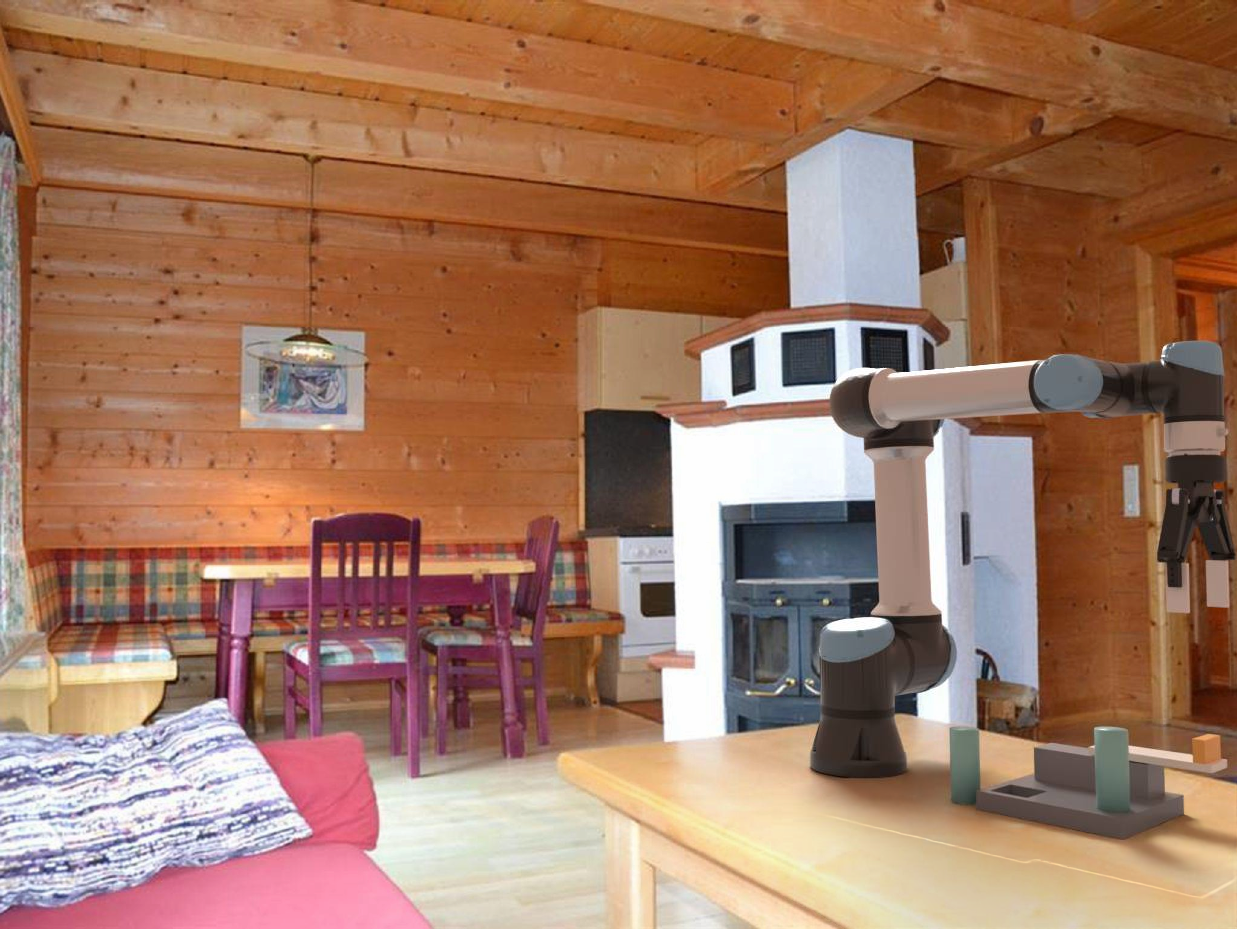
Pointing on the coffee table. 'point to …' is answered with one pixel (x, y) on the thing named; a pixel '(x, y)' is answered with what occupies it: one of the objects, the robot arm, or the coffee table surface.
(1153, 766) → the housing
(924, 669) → the robot arm
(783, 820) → the coffee table surface
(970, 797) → the peg
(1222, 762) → the lid
